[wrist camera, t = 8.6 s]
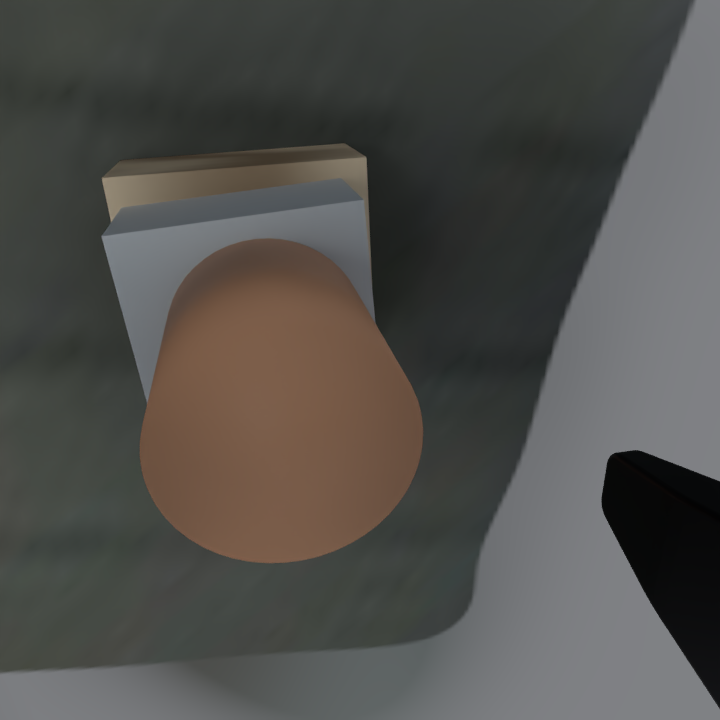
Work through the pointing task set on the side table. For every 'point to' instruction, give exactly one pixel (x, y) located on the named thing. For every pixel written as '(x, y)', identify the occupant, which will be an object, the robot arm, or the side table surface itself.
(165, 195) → the oak base block
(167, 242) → the grey-blue top block
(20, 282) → the side table surface
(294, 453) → the terracotta rounded cylinder
